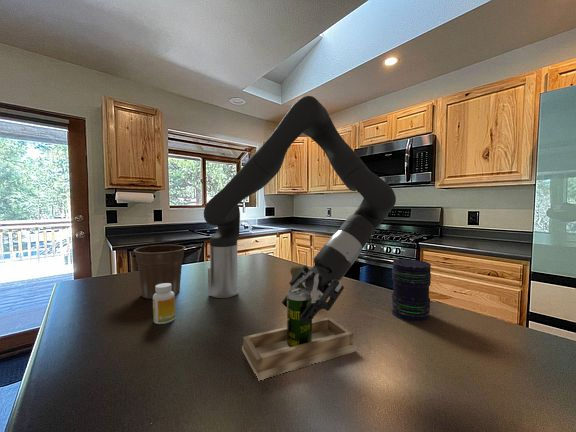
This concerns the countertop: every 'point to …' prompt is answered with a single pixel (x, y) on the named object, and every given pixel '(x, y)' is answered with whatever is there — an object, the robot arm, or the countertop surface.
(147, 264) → the plant pot
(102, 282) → the countertop surface
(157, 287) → the supplement bottle
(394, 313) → the storage jar
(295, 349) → the wooden rimmed tray
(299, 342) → the beer can
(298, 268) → the cork
